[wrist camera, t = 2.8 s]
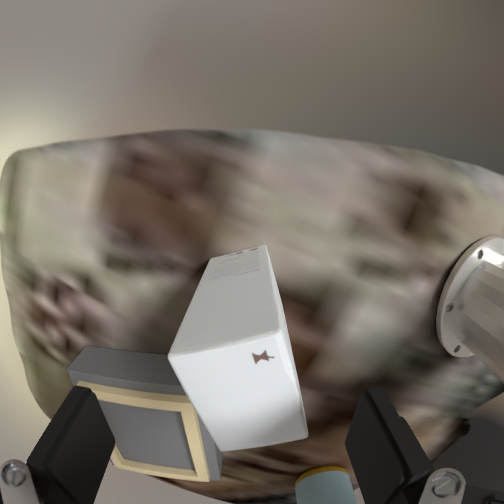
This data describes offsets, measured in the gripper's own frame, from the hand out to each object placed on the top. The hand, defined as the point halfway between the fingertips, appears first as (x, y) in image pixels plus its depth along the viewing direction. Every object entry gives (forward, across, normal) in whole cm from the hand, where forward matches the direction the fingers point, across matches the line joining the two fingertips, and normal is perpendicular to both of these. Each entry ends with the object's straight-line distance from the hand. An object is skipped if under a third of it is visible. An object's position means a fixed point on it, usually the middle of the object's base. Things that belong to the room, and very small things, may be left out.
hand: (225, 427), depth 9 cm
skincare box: (+13, -1, 0) cm, 13 cm away
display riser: (+13, +8, +13) cm, 20 cm away
